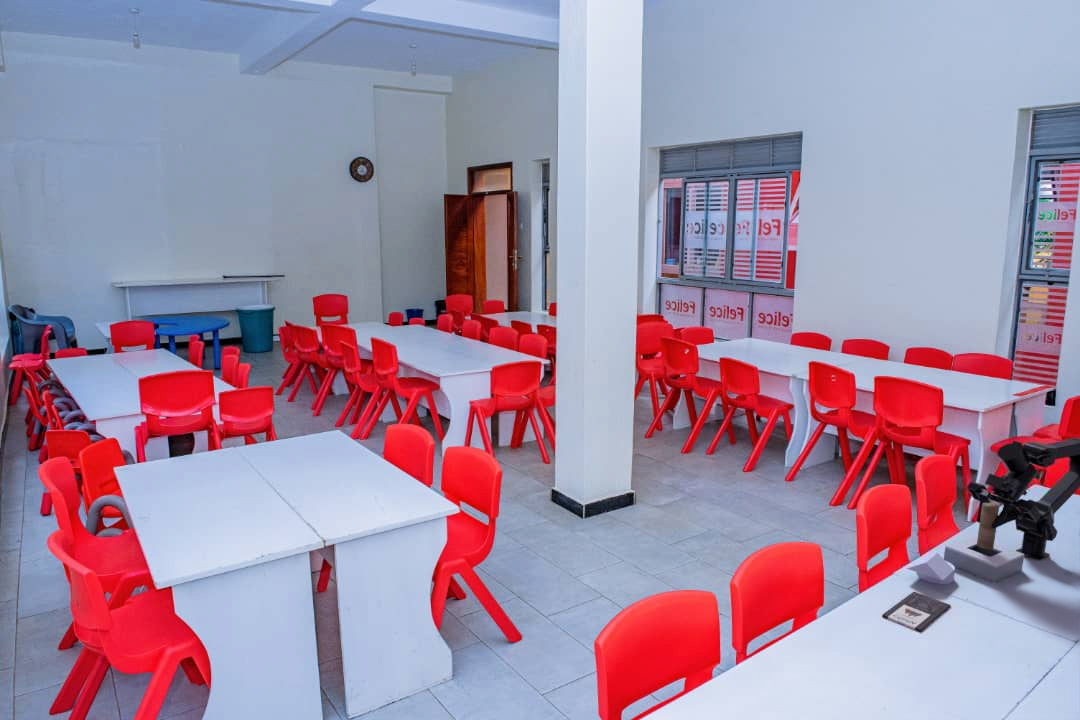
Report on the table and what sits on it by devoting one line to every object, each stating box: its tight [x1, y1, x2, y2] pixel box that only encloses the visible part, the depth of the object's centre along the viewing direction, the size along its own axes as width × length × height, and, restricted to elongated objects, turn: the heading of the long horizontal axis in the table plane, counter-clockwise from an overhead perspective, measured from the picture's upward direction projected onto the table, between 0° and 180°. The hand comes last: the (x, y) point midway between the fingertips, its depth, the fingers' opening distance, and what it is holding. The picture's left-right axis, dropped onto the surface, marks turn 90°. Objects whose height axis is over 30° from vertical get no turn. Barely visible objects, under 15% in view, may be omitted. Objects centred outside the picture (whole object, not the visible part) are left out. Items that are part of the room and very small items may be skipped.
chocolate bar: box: [881, 591, 952, 633], centre depth 188 cm, size 9×1×18 cm
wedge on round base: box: [906, 552, 956, 585], centre depth 205 cm, size 9×7×13 cm
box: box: [943, 535, 1025, 584], centre depth 213 cm, size 14×14×5 cm
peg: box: [977, 502, 1000, 550], centre depth 211 cm, size 4×4×12 cm
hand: (984, 524), depth 210 cm, fingers closed on peg, 4 cm apart
